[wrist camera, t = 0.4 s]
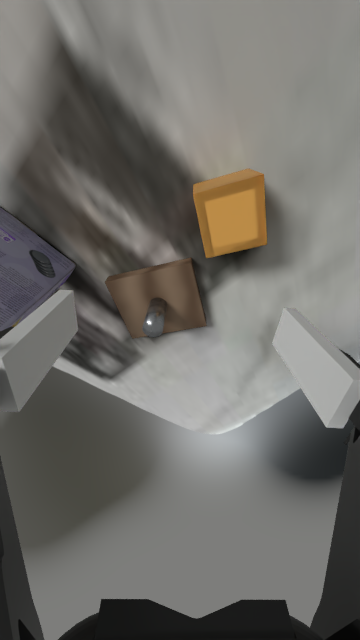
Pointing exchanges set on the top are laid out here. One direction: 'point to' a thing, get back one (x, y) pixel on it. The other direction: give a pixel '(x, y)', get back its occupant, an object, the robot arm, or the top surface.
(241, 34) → the top surface
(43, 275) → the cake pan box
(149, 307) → the post
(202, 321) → the base plate
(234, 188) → the orange cube block
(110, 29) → the top surface
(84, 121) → the top surface
